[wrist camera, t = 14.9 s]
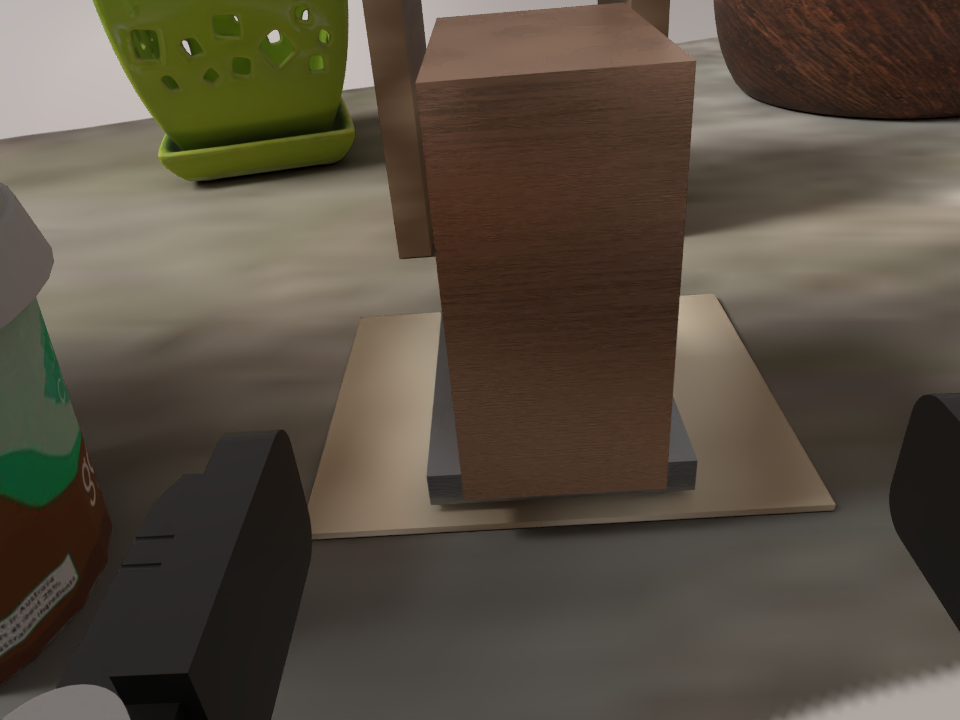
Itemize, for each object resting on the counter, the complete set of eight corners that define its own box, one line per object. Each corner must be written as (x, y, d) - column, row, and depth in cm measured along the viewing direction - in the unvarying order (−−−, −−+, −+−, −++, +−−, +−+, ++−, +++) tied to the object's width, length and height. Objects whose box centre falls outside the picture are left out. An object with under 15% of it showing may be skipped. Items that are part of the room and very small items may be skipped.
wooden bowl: (797, 43, 71) (814, -85, 65) (1132, 68, 55) (1191, -99, 49) (635, 104, 56) (640, -53, 51) (1021, 160, 41) (1088, -59, 35)
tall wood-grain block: (428, 532, 19) (360, 87, 14) (449, 277, 32) (418, -9, 26) (704, 516, 19) (753, 56, 13) (615, 265, 32) (620, -27, 26)
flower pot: (379, 169, 48) (345, -62, 41) (147, 205, 45) (70, -35, 38) (355, 118, 59) (325, -69, 53) (169, 144, 57) (113, -49, 50)
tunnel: (399, 258, 36) (342, -137, 27) (414, 186, 44) (375, -131, 36) (657, 240, 35) (678, -168, 27) (623, 171, 44) (630, -155, 35)
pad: (301, 540, 20) (299, 534, 20) (361, 321, 30) (360, 317, 30) (834, 510, 20) (835, 504, 20) (713, 298, 30) (714, 293, 30)
